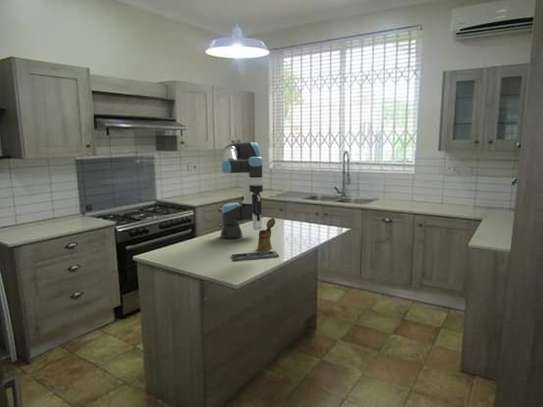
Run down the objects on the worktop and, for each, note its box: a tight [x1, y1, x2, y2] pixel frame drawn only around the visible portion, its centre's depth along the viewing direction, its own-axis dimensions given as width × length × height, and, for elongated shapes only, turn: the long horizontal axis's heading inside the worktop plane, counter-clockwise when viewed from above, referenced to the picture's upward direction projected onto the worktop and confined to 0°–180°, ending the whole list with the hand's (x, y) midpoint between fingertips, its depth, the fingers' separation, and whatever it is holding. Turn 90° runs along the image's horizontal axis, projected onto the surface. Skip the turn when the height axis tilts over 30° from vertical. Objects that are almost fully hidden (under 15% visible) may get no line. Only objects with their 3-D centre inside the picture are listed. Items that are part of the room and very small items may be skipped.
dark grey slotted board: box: [231, 250, 280, 262], centre depth 224 cm, size 9×26×1 cm, turn 104°
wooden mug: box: [256, 217, 276, 251], centre depth 241 cm, size 9×14×18 cm, turn 139°
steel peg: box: [252, 213, 262, 231], centre depth 222 cm, size 4×4×9 cm
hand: (257, 225), depth 222 cm, fingers closed on steel peg, 4 cm apart
